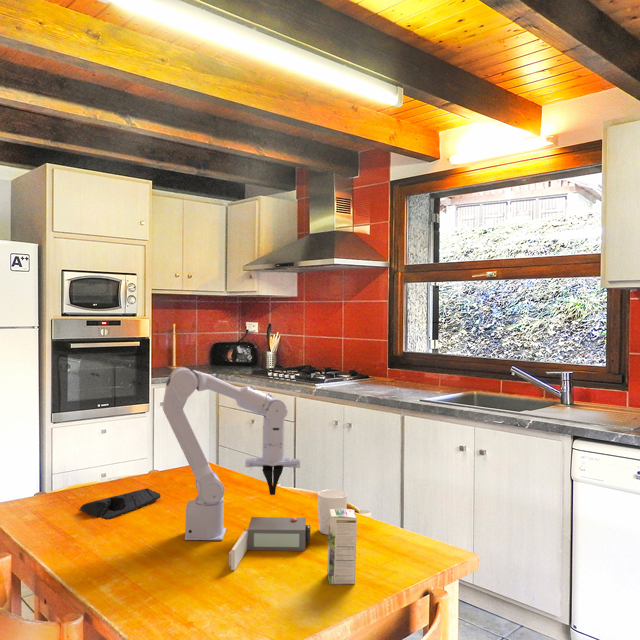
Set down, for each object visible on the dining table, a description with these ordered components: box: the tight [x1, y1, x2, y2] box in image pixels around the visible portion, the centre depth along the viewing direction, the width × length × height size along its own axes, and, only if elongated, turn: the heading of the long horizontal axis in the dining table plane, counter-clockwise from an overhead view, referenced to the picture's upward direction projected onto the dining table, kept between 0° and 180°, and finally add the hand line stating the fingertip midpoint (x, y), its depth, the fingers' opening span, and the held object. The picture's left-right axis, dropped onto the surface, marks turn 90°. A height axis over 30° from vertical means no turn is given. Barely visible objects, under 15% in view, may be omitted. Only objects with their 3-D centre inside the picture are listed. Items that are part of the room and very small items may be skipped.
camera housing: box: [247, 516, 311, 552], centre depth 150 cm, size 15×9×6 cm, turn 91°
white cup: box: [317, 488, 348, 536], centre depth 159 cm, size 8×8×10 cm
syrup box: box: [327, 508, 358, 585], centre depth 130 cm, size 6×6×14 cm
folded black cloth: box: [78, 487, 162, 520], centre depth 177 cm, size 15×22×5 cm
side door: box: [228, 528, 248, 571], centre depth 139 cm, size 13×1×5 cm, turn 173°
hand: (272, 493), depth 160 cm, fingers closed
